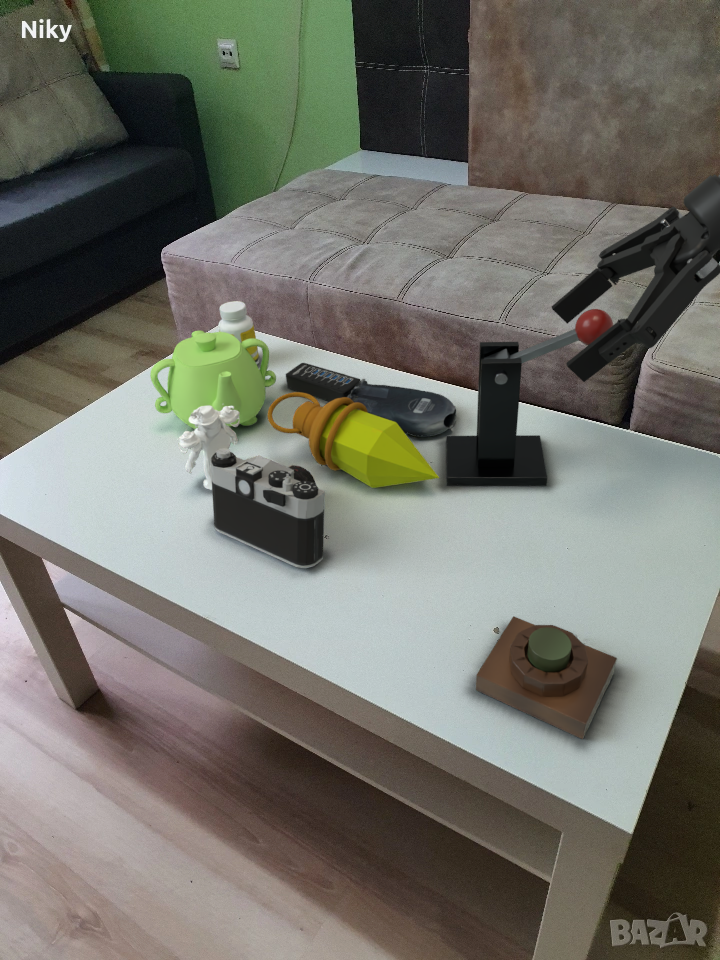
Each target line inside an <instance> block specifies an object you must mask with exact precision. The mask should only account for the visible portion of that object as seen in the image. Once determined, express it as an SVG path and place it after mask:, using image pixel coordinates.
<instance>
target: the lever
mask: <svg viewBox="0 0 720 960" xmlns="http://www.w3.org/2000/svg"><path fill="white" fill-rule="evenodd" d="M613 325H614V322H613V319H612V317H611V315H610V314H609V313H608V312H607V311H604V310H602V309H599V308H591V309H588V310H586V311H583V313H581V314H579V316H578V318H577V320H576V322H575V326H574V329H571V330H568V331H567V332H564V333H561V334H559V335H556V336H554V337H551V338H549V339H546V340H544V341H542V342H539V343H537V344H533V345H532V346H529V347H526V348H524V349H522V350H519V352H517V353H515V354H512V355H509V353H508V350H507V349H504V350H502V351H499V352H497V353H494V354H492V355H490V356H487V357H485V358H484V359H512V358H521V361H522V364H524V363H526V362H529V361H531V360H534V359H536V358H539V357H541V356H545V355H546V354H549V353H552V352H554V351H556V350H559V349H561V348H564V347H567V346H569V345H572V344H573V343H576V342H578V341H579V342H581V343H582V344H584V345H585V346H588V345H589V344H591V343H592V342H593V341H594V340H596V339H597V338H598V337H599V336H601V335H602V334H603V333H604V332H606V331H607V330H608V329H609V328H611V327H612V326H613Z"/></svg>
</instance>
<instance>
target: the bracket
mask: <svg viewBox="0 0 720 960" xmlns="http://www.w3.org/2000/svg"><path fill="white" fill-rule="evenodd" d="M504 349H507V350H508V353H509V355H512V354H515V353H517V352H520V343H519V341H480V342H479V358H478V383H477V384H478V386H477V414H476V435H446V436H445V451H446V452H445V453H446V454H445V455H446V458H445V461H446V462H445V464H446V465H445V466H446V469H445V470H446V472H445V473H446V474H445V475H446V478H445V479H446V480H445V481H446V483H445V484H446V487H451V486H452V487H461V486H462V487H547V486H548V473H547V467H546V462H545V455H544V450H543V444H542V440H541V435H534V434H533V435H530V434H529V435H527V434H526V435H521V434H520V435H519V434H518V421H519V407H520V391H521V381H522V380H521V378H522V368H523V367H522V366H523V363H522V361H521V358H512V359H484V358H485V357H487V356H490V355H492V354H494V353H497V352H499V351H502V350H504ZM517 434H518V435H517Z"/></svg>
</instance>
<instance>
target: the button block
mask: <svg viewBox="0 0 720 960" xmlns="http://www.w3.org/2000/svg"><path fill="white" fill-rule="evenodd" d="M545 627H549V628H555V629H558V630H560V631H562V632H563V633H565V634H566V635H567V636H568V638H569V639H570V641H571V653H570V659H569V663H568V665H567V666H566V667H565V668H564V669H563V670H561V671H558V672H544V671H541V670H539V669H537V668H536V667H534V666H533V665H532V664H531V662H530V661H529V659H528V644H529V638H530V635H531V634H532V633H533V632H534V631H535V630H537V629H540V628H545ZM617 660H618V658H617V657H616V656H613V655H611V654H609V653H606V652H604V651H601V650H599V649H597V648H594V647H592V646H589V645H586V644H584V643H583V642H582V640H580V639H579V638H578V636H576V635H575V633H573V632H571V631H569V630H567V629H564V628H562V627H559V626H556V625H553V624H534V623H531V622H529V621H527V620H524V619H521V618H519V617H517V616H512V617H511V619H510V620H509V622H508V624H507V626H506V627H505V629H504V630H503V632H502V633H501V634H500V637H499V638H498V639H497V641H496V643H495V645H494V646H493V647H492V649H491V651H490V653H489V654H488V655H487V657H486V658H485V661H484V662H483V664H482V665H481V667H480V668H479V670H478V671H477V673H476V675H475V691H477V692H479V693H481V694H484V695H486V696H488V697H490V698H492V699H494V700H497V701H499V702H501V703H503V704H505V705H507V706H509V707H511V708H514V709H516V710H518V711H520V712H523V713H525V714H526V715H528V716H531V717H534V718H536V719H538V720H540V721H541V722H544V723H546V724H547V725H548V724H549V725H551V726H553V727H554V728H557V729H559V730H562V731H563V732H566V733H568V734H571V735H572V736H574V737H577V738H578V739H581V740H584V738H585V736H586V734H587V732H588V730H589V727H590V725H591V723H592V721H593V720H594V719H593V718H594V716H595V714H596V712H597V710H598V708H599V706H600V704H601V702H602V700H603V697H604V695H605V692H606V691H607V688H608V687H609V684H610V683H611V680H612V678H613V677H614V673H615V670H616V665H617Z"/></svg>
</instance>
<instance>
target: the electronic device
mask: <svg viewBox="0 0 720 960" xmlns="http://www.w3.org/2000/svg"><path fill="white" fill-rule="evenodd" d="M347 398H350V399H351V400H352V401H353V402H354V403H355V402H359V403H362V404H363V405H364V406H365V407H366V409H367V412H368V413H370V414H373V415H376V416H379V417H382V418H385V419H388V420H391V421H394V422H396V423H397V424H398V425H399V427H400V428H401V429H402V430H403V432H404V433H405V434H406V435H411V436H413V437H419V438H421V437H433V436H437V435H441V434H442V433H445V432H446V431H448V430H451V432H453V429H454V425H455V423H456V419H457V408H456V405H454V404H453V402H452V401H451V400H450V399H449V398H448V397H446V396H444V395H442V394H439V393H435V392H433V391H429V390H427V391H426V390H421V389H417V388H416V389H415V388H409V387H402V386H393V385H387V384H372V383H368V381H367V380H366V378H362V379H360V382H359V384H358V385H357V386H355V388H354V389H353V390H351V394H350V395H348V397H347ZM358 410H359V409H358Z"/></svg>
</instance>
